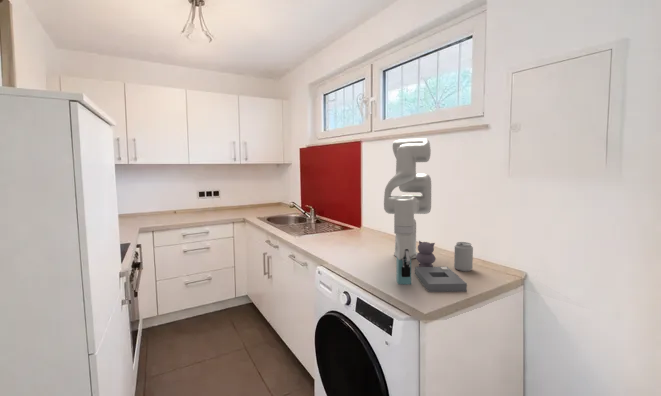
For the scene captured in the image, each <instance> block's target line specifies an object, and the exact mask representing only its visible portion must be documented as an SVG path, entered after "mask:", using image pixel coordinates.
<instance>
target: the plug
mask: <svg viewBox="0 0 661 396" xmlns="http://www.w3.org/2000/svg"><path fill="white" fill-rule="evenodd" d="M395 257H396V256H395ZM403 259H406V258H403ZM404 262H406V261H404ZM395 264H396V266H395V267H396V274H395V275H396V277H395V278H396V282H397V284H398V285H412V259H411V260H410V277H402V267H403V266H402V259H401V260H399V259H398V258H397V257H396V263H395Z"/></svg>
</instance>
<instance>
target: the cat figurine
mask: <svg viewBox="0 0 661 396" xmlns="http://www.w3.org/2000/svg"><path fill="white" fill-rule="evenodd" d="M435 245H436V242H431V243H430V242H428V241H420V240H419V241H418V245H417V251H418V252H417V253H418V254H417V255H416V258H415V259H416V261H417V263H418V267H434V263H435V261H436V255H435V254H434V249H435V247H434V246H435Z"/></svg>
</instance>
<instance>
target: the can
mask: <svg viewBox="0 0 661 396" xmlns="http://www.w3.org/2000/svg"><path fill="white" fill-rule="evenodd" d="M473 254H474V247H473V246H472V243H470V242H467V241H458V242H456V244H455V245H454V262H453V267H454V269H456V270H457V271H459V272H471V271H472V269H473V264H474V263H473V262H474V261H473V259H474V258H473V257H474V255H473Z"/></svg>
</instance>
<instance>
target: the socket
mask: <svg viewBox="0 0 661 396" xmlns="http://www.w3.org/2000/svg"><path fill="white" fill-rule="evenodd" d="M414 276H416V278H417V279H418V280H419V281H420V283H421V284H422V285H423V287H424V288H425V290H427V292H428V293H435V292H438V293H439V292H440V293H444V292H446V293H447V292H448V293H450V292H452V293H455V292H456V293H457V292H458V293H459V292H467V290H468V289H467V286H468V283H467V282H466V281H465V280H463V278H462V277H460V275H457V273H455V272H454V271H453V270H452V269H451V268H449V266H433V267H419V266H414Z"/></svg>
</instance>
